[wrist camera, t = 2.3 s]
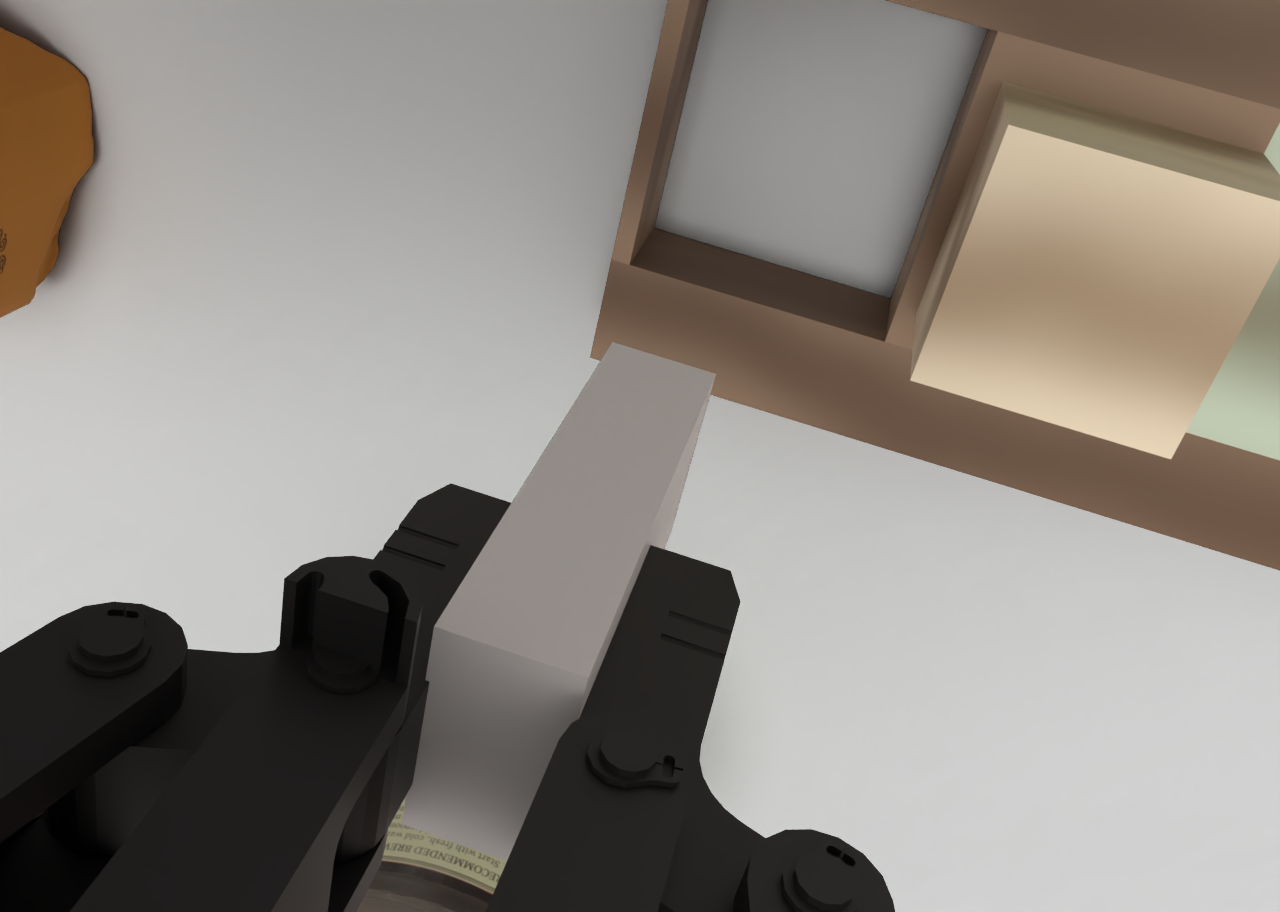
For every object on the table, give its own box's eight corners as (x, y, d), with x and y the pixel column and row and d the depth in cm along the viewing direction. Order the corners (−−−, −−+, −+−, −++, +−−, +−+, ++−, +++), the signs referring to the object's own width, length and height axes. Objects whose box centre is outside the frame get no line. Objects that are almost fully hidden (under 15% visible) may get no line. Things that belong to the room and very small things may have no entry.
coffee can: (491, 803, 48) (333, 1147, 36) (382, 593, 44) (163, 903, 32) (736, 779, 44) (650, 1153, 32) (642, 547, 40) (504, 877, 28)
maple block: (1003, 81, 28) (1008, 124, 24) (1263, 154, 27) (1306, 208, 24) (916, 313, 31) (910, 380, 27) (1148, 382, 30) (1171, 459, 27)
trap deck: (734, -204, 29) (712, -201, 26) (1963, 119, 26) (2069, 156, 24) (616, 316, 36) (590, 357, 34) (1566, 605, 34) (1615, 674, 31)
